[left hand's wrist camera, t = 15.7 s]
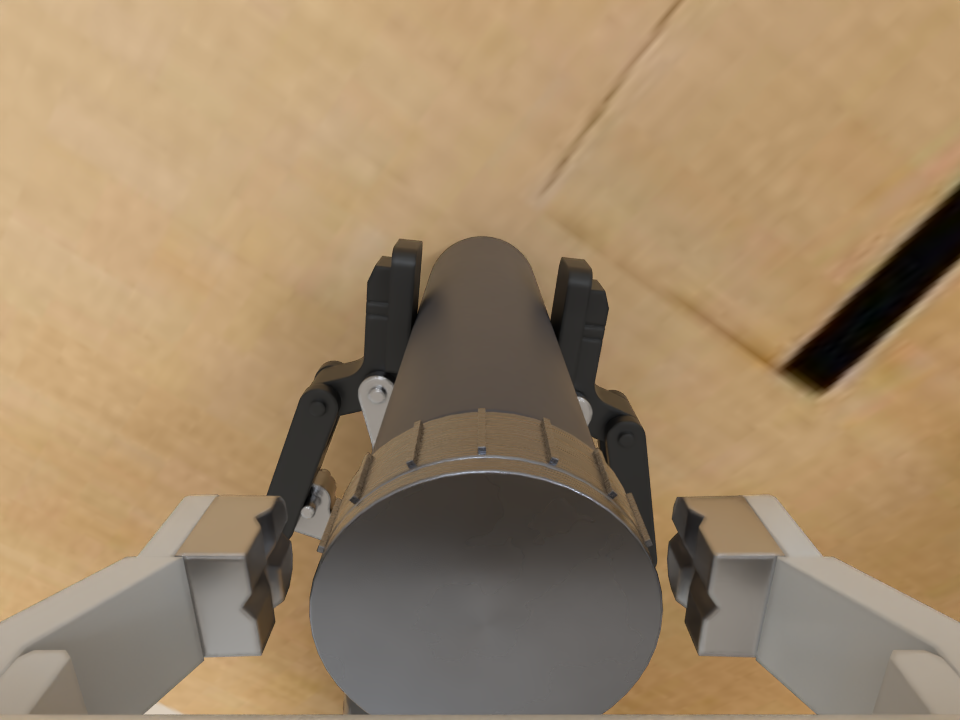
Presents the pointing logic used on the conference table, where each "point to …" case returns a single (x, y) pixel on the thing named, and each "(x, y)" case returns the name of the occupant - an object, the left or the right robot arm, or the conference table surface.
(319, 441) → the right robot arm
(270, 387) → the conference table surface
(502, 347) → the grey tall cylinder
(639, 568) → the lid
